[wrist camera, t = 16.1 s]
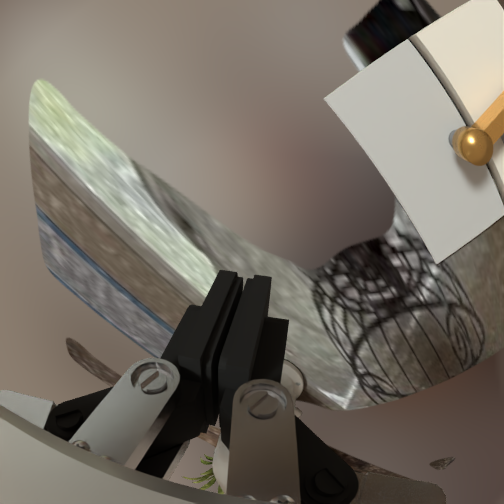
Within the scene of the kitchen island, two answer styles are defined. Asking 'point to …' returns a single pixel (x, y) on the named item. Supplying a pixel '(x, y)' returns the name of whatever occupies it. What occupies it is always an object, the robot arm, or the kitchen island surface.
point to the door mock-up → (433, 123)
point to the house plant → (209, 473)
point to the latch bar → (481, 135)
